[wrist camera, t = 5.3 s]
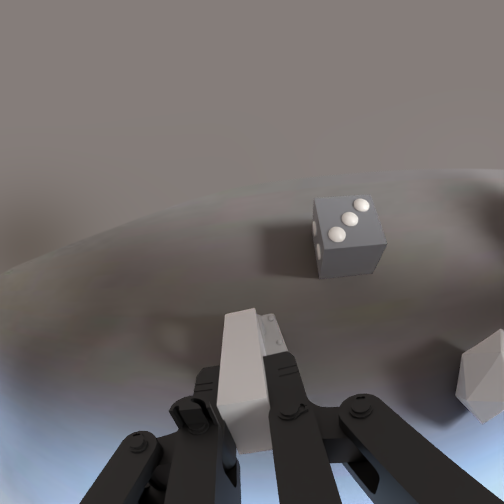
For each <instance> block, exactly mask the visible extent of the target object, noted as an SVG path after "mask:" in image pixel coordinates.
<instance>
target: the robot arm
mask: <svg viewBox="0 0 504 504" xmlns="http://www.w3.org/2000/svg"><path fill="white" fill-rule="evenodd" d="M195 385H196V386H195V389H194V394H193V396H188V397H184V398H182V399H180V400H178V401H176V402H175V403H174V404H173V405H172V406H171V408H170V410H169V413H170V414H171V416H172V418H173V420H174V421H175V423H176V425H177V426H178V428H179V429H178V431H177V432H175V433H172V434H169V435H166V436H162V437H159V438H156V437H155V436H154V435H153V434H152V433H150V432H148V431H138V432H134V433H132V434H130V435H128V436H127V437H126V438H125V439H124V440H123V441H122V443H121V444H120V446H119V447H118V449H117V450H116V451H115V453H114V454H113V456H112V457H111V459H110V460H109V462H108V463H107V464H106V466H105V467H104V469H103V470H102V472H101V473H100V475H99V476H98V477H97V479H96V480H95V482H94V483H93V485H92V486H91V488H90V489H89V490H88V492H87V493H86V495H85V496H84V498H83V499H82V501H81V502H80V503H79V504H241V484H240V465H239V462H238V460H237V458H236V448H237V450H238V452H239V454H246V453H253V452H260V451H266V450H272V449H273V456H274V464H275V472H276V479H277V487H278V494H279V502H280V504H342V502H341V499H340V495H339V492H338V489H337V486H336V482H335V479H334V476H333V473H332V469H331V466H330V463H342V464H343V465H344V466H345V468H346V469H347V470H348V472H349V473H350V474H351V475H352V477H353V478H354V479H355V481H356V482H357V483H358V484H359V486H360V487H361V488H362V489H363V491H364V492H365V493H366V494H367V496H368V497H369V498H370V499H371V500H372V502H373V503H374V504H504V502H503V501H502V500H501V499H499V498H498V497H497V496H496V495H494V494H493V493H492V492H490V491H489V490H488V489H487V488H485V487H484V486H483V485H482V484H480V483H479V482H478V481H477V480H475V479H474V478H473V477H472V476H470V475H469V474H468V473H467V472H465V471H464V470H463V469H462V468H460V467H459V466H458V465H457V464H456V463H454V462H453V461H452V460H451V459H450V458H448V457H447V456H446V455H445V454H443V453H442V452H441V451H440V450H439V449H437V448H436V447H435V446H434V445H433V444H432V443H430V442H429V441H428V440H427V439H426V438H424V437H423V436H422V435H421V434H420V433H419V432H417V431H416V430H415V429H414V428H413V427H412V426H410V425H409V424H408V423H407V422H406V421H405V420H403V419H402V418H401V417H400V416H399V415H398V414H396V413H395V412H394V411H393V410H392V409H391V408H390V407H388V406H387V405H386V404H385V403H384V402H383V401H382V400H380V399H379V398H378V397H376V396H374V395H370V394H357V395H354V396H351V397H349V398H347V399H346V400H345V401H343V402H342V404H341V406H340V407H320V406H317V405H315V404H313V403H311V402H310V401H309V400H308V398H307V396H306V392H305V389H304V386H303V383H302V380H301V377H300V374H299V370H298V367H297V364H296V361H295V358H294V356H293V355H291V354H290V353H289V352H288V351H285V352H280V353H276V354H271V355H267V356H266V351H265V347H264V343H263V339H262V335H261V331H260V327H259V323H258V319H257V315H256V311H255V308H252V309H247V310H243V311H238V312H233V313H228V314H225V321H224V331H223V341H222V352H221V363H220V366H214V367H208V368H203V369H202V370H201V372H200V373H199V374H198V375H197V378H196V383H195Z"/></svg>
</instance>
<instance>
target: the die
mask: <svg viewBox="0 0 504 504" xmlns="http://www.w3.org/2000/svg"><path fill="white" fill-rule="evenodd" d="M455 396H456V397H457V398H458V399H459V400H460V401H461V402H462V403H463V405H464V406H465V407H466V408H467V409H468V410H469V411H470V412H471V413H472V414H473V415H474V416H475V417H476V418H477V419H478V420H479V421H480V423H481V424H484V423H485V422H487V421H489V420H490V419H492V418H493V417H495V416H496V415H498V414H499V413H501V412H502V411H504V331H503V330H502V329H501V328H500V329H499V330H498V331H496V332H495V333H493V334H492V335H491V336H489V337H488V338H486V339H485V340H483V341H482V342H480V343H479V344H477V345H476V346H474V347H472V348H471V349H469V350H468V351H466V352H464V353H463V354H462V358H461V365H460V371H459V378H458V383H457V389H456V394H455Z"/></svg>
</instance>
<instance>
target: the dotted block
mask: <svg viewBox="0 0 504 504" xmlns="http://www.w3.org/2000/svg"><path fill="white" fill-rule="evenodd" d="M312 237H313V242H314V248H315V255H316V261H317V267H318V274H319V279H325V278H335V277H344V276H353V275H362V274H371V273H373V271H374V269H375V267H376V266H377V264H378V262H379V260H380V258H381V255H382V253H383V251H384V249H385V247H386V245H387V241H386V238H385V235H384V232H383V229H382V226H381V223H380V220H379V217H378V214H377V211H376V208H375V206H374V203H373V200H372V197H371V195H352V196H336V197H321V198H314V207H313V222H312Z"/></svg>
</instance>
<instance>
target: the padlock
mask: <svg viewBox="0 0 504 504" xmlns="http://www.w3.org/2000/svg"><path fill="white" fill-rule="evenodd" d="M256 315H257V319H258V323H259V327H260V331H261V335H262V339H263V343H264V347H265V351H266V356H267V355H271V354H276V353H280V352H285V351H288V350H287V347H286V344H285V342H284V339H283V336H282V334H281V331H280V328H279V326H278V323H277V320H276V318H275V315H274V314H273V313H271V314H266V315H261V316H260V315H259V314H256Z"/></svg>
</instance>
